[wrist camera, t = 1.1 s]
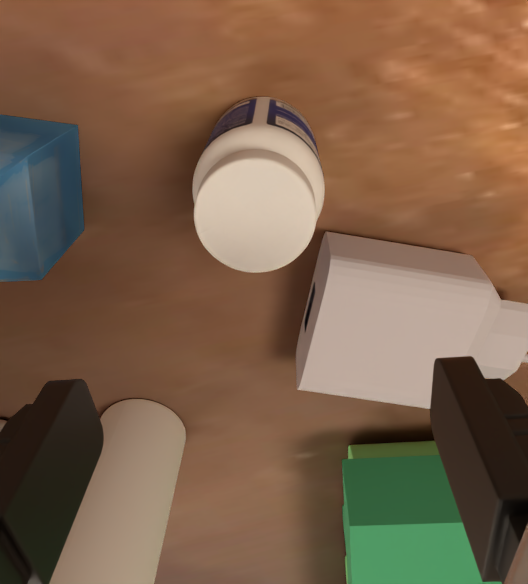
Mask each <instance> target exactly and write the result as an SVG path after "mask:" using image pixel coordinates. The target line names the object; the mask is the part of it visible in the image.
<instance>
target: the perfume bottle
mask: <svg viewBox="0 0 528 584" xmlns="http://www.w3.org/2000/svg"><path fill="white" fill-rule="evenodd" d="M83 231H84V216H83V200H82V184H81V168H80V152H79V136H78V125H73V124H66V123H58V122H51V121H44V120H37V119H29V118H22V117H15V116H7V115H0V282H10V281H29V280H42V278H43V277H44V276H45V275H46V274H47V273H48V272H49V270H50V269H51V268H52V267H53V266H54V265H55V263H56V262H57V261H58V260H59V259H60V258H61V256H62V255H63V254H64V253H65V252H66V251H67V250H68V248H69V247H70V246H71V245H72V244H73V243H74V241H75V240H76V239H77V238H78V237H79V236H80V234H81V233H82V232H83Z"/></svg>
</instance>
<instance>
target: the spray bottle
mask: <svg viewBox="0 0 528 584" xmlns="http://www.w3.org/2000/svg"><path fill="white" fill-rule="evenodd" d="M100 421H101V424H102V427H103V433H104V442H103V448H102V452H101V455H100V457H99V460H98V462H97V465H96V467H95V470H94V472H93V475H92V477H91V480H90V482H89V485H88V487H87V490H86V492H85V495H84V497H83V500H82V502H81V505H80V507H79V510H78V512H77V515H76V517H75V520H74V522H73V525H72V527H71V530H70V532H69V535H68V537H67V540H66V543H65V545H64V548H63V550H62V553H61V555H60V558H59V560H58V563H57V565H56V568H55V570H54V573H53V575H52V578H51V580H50V583H49V584H154V580H155V576H156V571H157V567H158V562H159V558H160V553H161V549H162V544H163V540H164V535H165V531H166V526H167V522H168V517H169V513H170V509H171V504H172V500H173V495H174V491H175V486H176V482H177V477H178V473H179V468H180V464H181V459H182V455H183V450H184V446H185V441H186V431H185V427H184V425H183V423H182V421H181V419H180V418H179V417H178V416H177V415H176V414H175V413H174V412H173V411H172V410H170V409H169V408H167V407H166V406H164V405H162V404H160V403H157V402H154V401H150V400H145V399H128V400H123V401H120V402H118V403H115V404H113V405H112V406H110V407H109V408H108V409H107V410H106V411H105V412H104V413H103V415H102V417H101V419H100Z"/></svg>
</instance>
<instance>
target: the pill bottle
mask: <svg viewBox="0 0 528 584" xmlns="http://www.w3.org/2000/svg"><path fill="white" fill-rule="evenodd" d="M192 193H193V201H194V223H195V228H196V231H197V234H198V236H199V238H200V240H201V242H202V244H203V245H204V247H205V248H206V249H207V250H208V252H209V253H210V254H211V255H212V256H213V257H215V258H216V259H217V260H218V261H220V262H221V263H223V264H225V265H227V266H229V267H231V268H233V269H236V270H240V271H244V272H254V273H258V272H268V271H272V270H276V269H279V268H281V267H283V266H285V265H287V264H289V263H290V262H292V261H293V260H295V259H296V258H297V257H298V256H299V255H300V254H301V253H302V252H303V251H304V250H305V248H306V247H307V246H308V244H309V242H310V240H311V238H312V236H313V233H314V230H315V226H316V221H317V219H318V217H319V215H320V213H321V210H322V206H323V202H324V194H325V185H324V175H323V171H322V167H321V163H320V159H319V155H318V150H317V146H316V142H315V138H314V135H313V132H312V130H311V127H310V125H309V124H308V122H307V120H306V119H305V118H304V116H303V115H302V114H301V113H300V112H299V111H298V110H297V109H296V108H294V107H293V106H292V105H290V104H288V103H286V102H285V101H282V100H279V99H276V98H271V97H253V98H249V99H246V100H243V101H240V102H239V103H237V104H235V105H233V106H232V107H231V108H229V109H228V110H227V111H226V112H225V113H224V114H223V115H222V116H221V118H220V119H219V120H218V122H217V124H216V125H215V127H214V129H213V131H212V133H211V136H210V138H209V140H208V142H207V144H206V146H205V148H204V150H203V152H202V154H201V156H200V158H199V160H198V163H197V166H196V169H195V173H194V177H193V186H192Z"/></svg>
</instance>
